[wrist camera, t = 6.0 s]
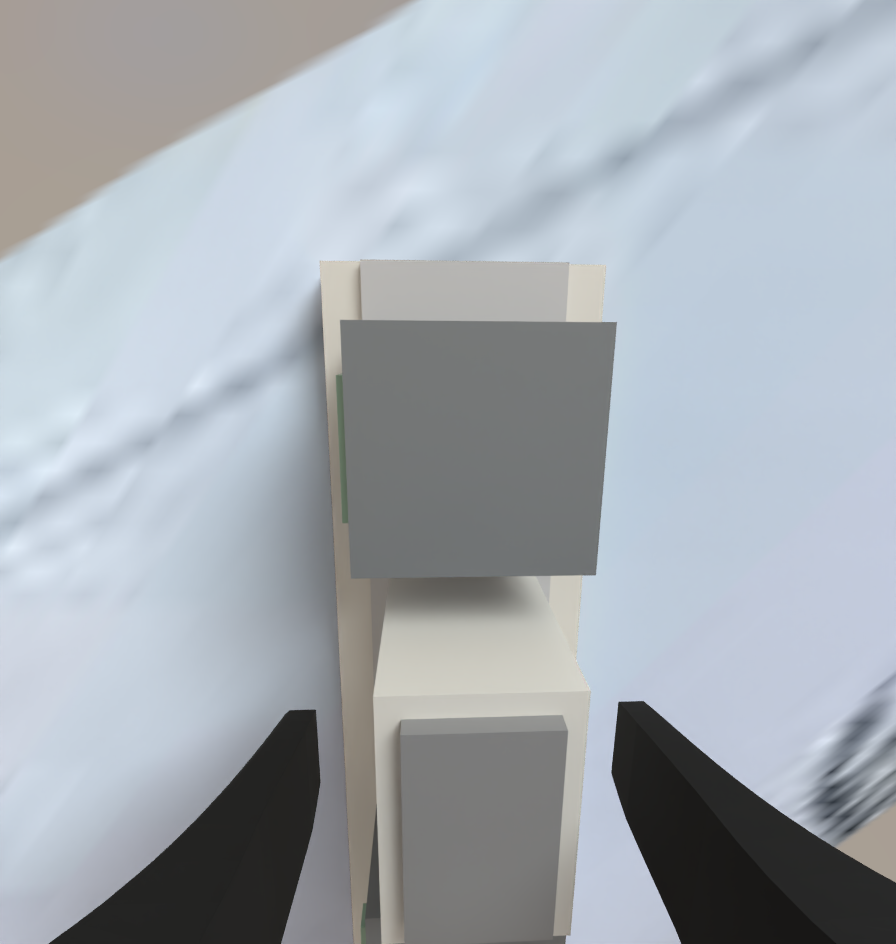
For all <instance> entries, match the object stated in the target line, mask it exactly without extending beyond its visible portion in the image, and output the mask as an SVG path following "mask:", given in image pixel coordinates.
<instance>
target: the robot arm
mask: <svg viewBox="0 0 896 944" xmlns="http://www.w3.org/2000/svg"><path fill="white" fill-rule="evenodd" d="M611 773H612V776H613V780H614V783H615V786H616V789H617V793H618V796H619V799H620V802H621V805H622V808H623V811H624V814H625V817H626V820H627V822H628V824H629V827H630V829H631V831H632V833H633V836H634V838H635V840H636V843H637V845H638V847H639V849H640V852H641V854H642V856H643V858H644V860H645V863H646V865H647V867H648V869H649V872H650V874H651V876H652V878H653V880H654V883H655V885H656V887H657V889H658V891H659V894H660V896H661V898H662V900H663V903H664V905H665V907H666V909H667V911H668V914H669V916H670V918H671V920H672V922H673V925H674V927H675V929H676V932H677V934H678V937H679V939H680V941H681V944H896V883H895V882H893V881H892V880H890V879H888V878H886V877H884V876H883V875H881V874H879V873H877V872H875V871H874V870H872V869H870V868H868V867H867V866H865V865H863V864H862V863H860V862H858V861H856V860H855V859H853V858H851V857H850V856H848V855H846V854H844V853H843V852H841V851H840V850H838V849H836V848H834V847H833V846H831V845H830V844H828V843H826V842H825V841H823V840H822V839H820V838H818V837H817V836H815V835H814V834H812V833H811V832H809V831H808V830H806V829H805V828H803V827H802V826H800V825H799V824H797V823H796V822H794V821H793V820H791V819H790V818H788V817H787V816H785V815H784V814H782V813H781V812H780V811H778V810H777V809H775V808H774V807H773V806H771V805H770V804H768V803H767V802H766V801H764V800H763V799H761V798H760V797H759V796H758V795H756V794H755V793H754V792H752V791H751V790H750V789H748V788H747V787H746V786H744V785H743V784H742V783H740V782H739V781H738V780H736V779H735V778H734V777H733V776H731V775H730V774H729V773H728V772H726V771H725V770H724V769H723V768H721V767H720V766H719V765H718V764H716V763H715V762H714V761H713V760H712V759H710V758H709V757H708V756H707V755H706V754H704V753H703V752H702V751H701V750H700V749H699V748H697V747H696V746H695V745H694V744H693V743H691V742H690V741H689V740H688V739H687V738H686V737H685V736H683V735H682V734H681V733H680V732H679V731H678V730H676V729H675V728H674V727H673V726H672V725H671V724H670V723H668V722H667V721H666V720H665V719H664V718H663V717H662V716H660V715H659V714H658V713H657V712H656V711H655V710H653V709H652V708H651V707H650V706H649V705H647V704H646V703H645V702H644V701H635V702H619V703H618V713H617V723H616V732H615V742H614V752H613V762H612V772H611ZM319 788H320V768H319V753H318V737H317V721H316V710H289V711H288V712H287V713H286V714H285V715H284V717H283V718H282V719H281V721H280V722H279V723H278V725H277V726H276V727H275V728H274V730H273V731H272V732H271V734H270V735H269V736H268V738H267V739H266V740H265V741H264V743H263V744H262V745H261V746H260V748H259V749H258V750H257V751H256V753H255V754H254V755H253V756H252V758H251V759H250V760H249V761H248V762H247V764H246V765H245V766H244V767H243V768H242V769H241V771H240V772H239V773H238V774H237V775H236V777H235V778H234V779H233V780H232V781H231V782H230V784H229V785H228V786H227V787H226V788H225V789H224V790H223V791H222V792H221V794H220V795H219V796H218V797H217V798H216V799H215V800H214V801H213V802H212V803H211V804H210V805H209V807H208V808H207V809H206V810H205V811H204V812H203V813H202V814H201V815H200V816H199V817H198V818H197V819H196V820H195V821H194V822H193V823H192V824H191V825H190V826H189V827H188V828H187V829H186V830H185V831H184V832H183V833H182V834H181V835H180V836H179V837H178V838H177V839H176V840H175V841H174V842H173V843H172V844H171V845H170V846H169V847H168V848H167V849H166V850H165V851H163V852H162V853H161V854H160V855H159V856H158V857H157V858H156V859H155V860H154V861H152V862H151V863H150V864H149V865H148V866H147V867H146V868H144V869H143V870H142V871H141V872H140V873H139V874H138V875H136V876H135V877H134V878H133V879H132V880H130V881H129V882H128V883H127V884H126V885H124V886H123V887H122V888H121V889H120V890H118V891H117V892H116V893H115V894H114V895H112V896H111V897H110V898H109V899H108V900H106V901H105V902H104V903H102V904H101V905H100V906H99V907H97V908H96V909H95V910H93V911H92V912H91V913H89V914H88V915H87V916H86V917H84V918H83V919H82V920H80V921H79V922H78V923H76V924H75V925H74V926H72V927H71V928H69V929H68V930H67V931H65V932H64V933H63V934H61V935H60V936H58V937H57V938H56V939H54V940H53V941H52V942H50V943H49V944H281V941H282V938H283V934H284V931H285V927H286V923H287V920H288V916H289V913H290V909H291V906H292V902H293V898H294V895H295V891H296V888H297V884H298V881H299V877H300V873H301V870H302V866H303V863H304V859H305V855H306V852H307V848H308V844H309V841H310V837H311V833H312V829H313V823H314V818H315V812H316V806H317V800H318V794H319Z"/></svg>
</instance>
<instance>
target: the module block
mask: <svg viewBox="0 0 896 944" xmlns="http://www.w3.org/2000/svg"><path fill="white" fill-rule="evenodd" d="M590 694H591V691H590V688H589V686H588V684H587V682H586V680H585V678H584V676H583V674H582V672H581V670H580V668H579V666H578V663H577V661H576V659H575V657H574V655H573V653H572V651H571V649H570V647H569V645H568V643H567V641H566V638H565V636H564V634H563V632H562V630H561V628H560V626H559V624H558V622H557V620H556V618H555V616H554V613H553V611H552V609H551V607H550V605H549V603H548V601H547V599H546V597H545V595H544V593H543V591H542V588H541V586H540V584H539V582H538V580H537V578H536V576H503V577H432V578H390V580H389V587H388V594H387V601H386V608H385V615H384V622H383V629H382V637H381V644H380V651H379V658H378V665H377V672H376V679H375V687H374V694H373V709H374V738H375V767H376V797H377V826H378V855H379V884H380V913H381V943H382V944H401V943H404V944H476V943H497V942H517V941H538V940H553V936H566V935H570V933H571V921H572V909H573V897H574V885H575V873H576V861H577V849H578V837H579V825H580V813H581V801H582V789H583V777H584V765H585V753H586V742H587V730H588V718H589V706H590Z"/></svg>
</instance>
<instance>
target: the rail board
mask: <svg viewBox="0 0 896 944" xmlns="http://www.w3.org/2000/svg"><path fill="white" fill-rule="evenodd" d="M605 274H606V265H573V264H569V263H562V262H494V261H425V260H360V261H320V276H321V297H322V317H323V337H324V357H325V377H326V397H327V417H328V437H329V458H330V478H331V498H332V518H333V538H334V558H335V578H336V599H337V619H338V639H339V659H340V679H341V699H342V719H343V740H344V760H345V780H346V800H347V820H348V840H349V860H350V881H351V901H352V921H353V941H354V944H382V943H381V913H380V884H379V855H378V826H377V797H376V767H375V738H374V709H373V694H374V687H375V679H376V672H377V665H378V658H379V651H380V644H381V637H382V629H383V622H384V615H385V608H386V601H387V594H388V587H389V580H390V578H432V577H503V576H536V578H537V580H538V582H539V584H540V586H541V588H542V591H543V593H544V595H545V597H546V599H547V601H548V603H549V605H550V607H551V609H552V611H553V613H554V616H555V618H556V620H557V622H558V624H559V626H560V628H561V630H562V632H563V634H564V636H565V638H566V641H567V643H568V645H569V647H570V649H571V651H572V653H573V655H574V657H575V659H576V654H577V641H578V628H579V615H580V602H581V589H582V575H596V566H597V554H598V542H599V530H600V518H601V506H602V494H603V482H604V470H605V458H606V446H607V434H608V422H609V410H610V398H611V385H612V373H613V361H614V349H615V337H616V325H617V322H602V313H603V300H604V287H605ZM565 940H566V936H553V940H538V941H517V942H497V943H476V944H565ZM401 944H404V943H401Z"/></svg>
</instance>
